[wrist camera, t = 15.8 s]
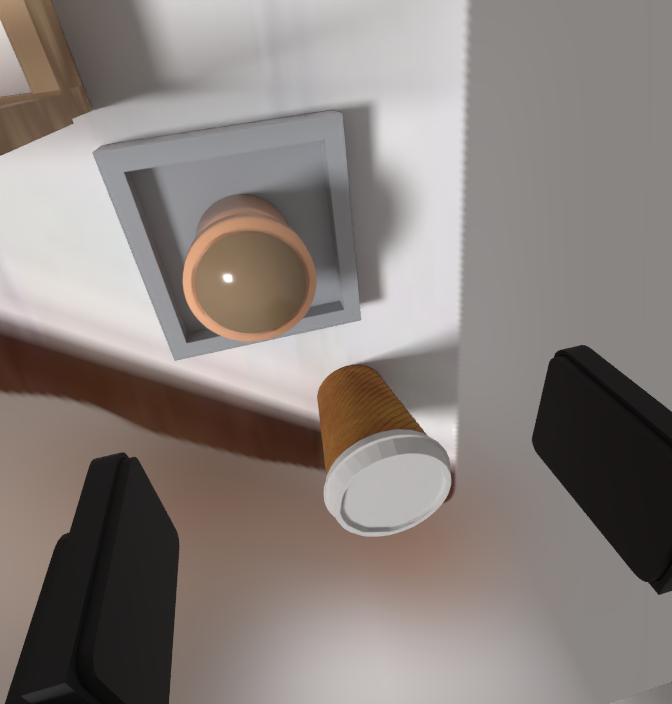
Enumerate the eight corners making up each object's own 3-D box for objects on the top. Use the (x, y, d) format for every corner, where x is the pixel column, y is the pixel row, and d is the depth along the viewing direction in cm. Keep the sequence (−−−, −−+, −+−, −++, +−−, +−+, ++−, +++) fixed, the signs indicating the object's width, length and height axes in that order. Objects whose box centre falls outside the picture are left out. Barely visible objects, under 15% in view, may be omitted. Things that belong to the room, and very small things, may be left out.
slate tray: (101, 145, 26) (92, 152, 24) (332, 109, 28) (342, 113, 26) (177, 342, 34) (174, 360, 32) (352, 305, 36) (361, 320, 34)
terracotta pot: (174, 198, 27) (163, 234, 22) (287, 178, 28) (306, 208, 22) (206, 300, 31) (204, 353, 26) (304, 280, 32) (324, 327, 27)
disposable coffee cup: (277, 403, 39) (299, 516, 30) (353, 329, 37) (403, 426, 27) (348, 445, 44) (387, 553, 35) (419, 383, 42) (481, 481, 32)
